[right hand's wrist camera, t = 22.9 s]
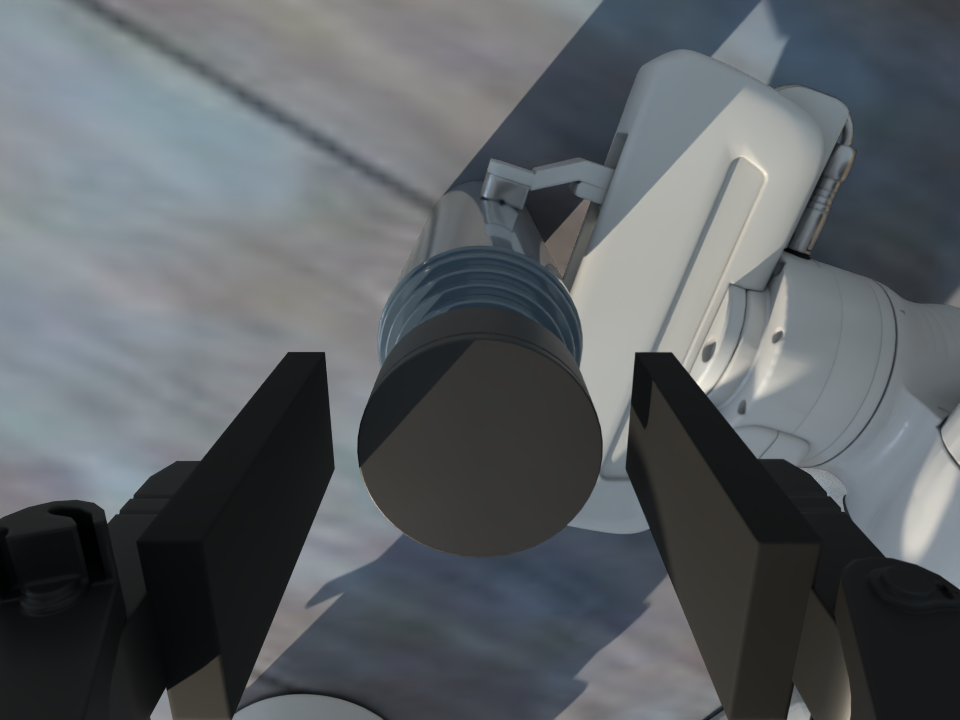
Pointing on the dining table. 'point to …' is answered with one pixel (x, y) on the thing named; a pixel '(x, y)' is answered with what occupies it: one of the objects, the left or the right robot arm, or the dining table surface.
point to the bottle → (479, 270)
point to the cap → (480, 434)
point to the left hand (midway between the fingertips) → (459, 258)
